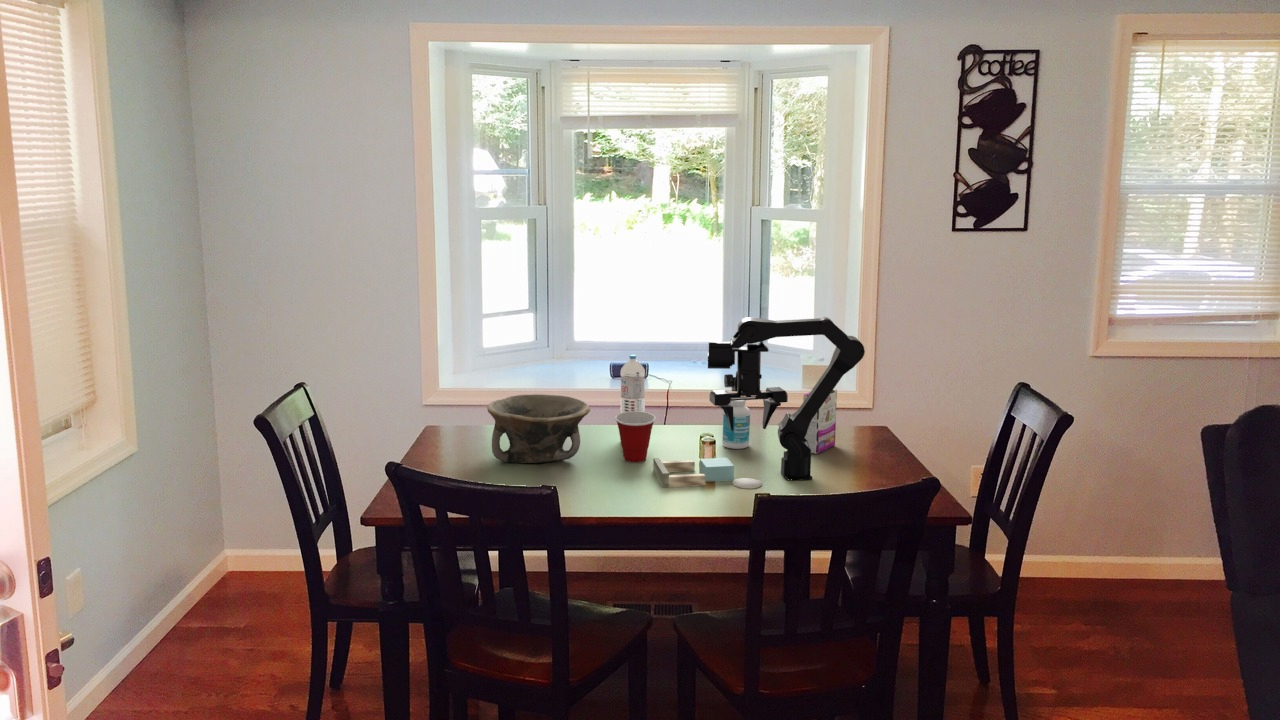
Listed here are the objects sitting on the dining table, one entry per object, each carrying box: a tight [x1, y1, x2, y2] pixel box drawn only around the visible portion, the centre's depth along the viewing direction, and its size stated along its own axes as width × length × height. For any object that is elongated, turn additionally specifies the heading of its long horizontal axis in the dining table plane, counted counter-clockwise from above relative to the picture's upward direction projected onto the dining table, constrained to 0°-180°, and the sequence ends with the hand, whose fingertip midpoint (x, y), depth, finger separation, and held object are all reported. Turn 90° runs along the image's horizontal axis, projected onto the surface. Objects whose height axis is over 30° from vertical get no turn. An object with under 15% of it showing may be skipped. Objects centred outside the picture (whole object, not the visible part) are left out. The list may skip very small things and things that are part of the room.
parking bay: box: [652, 457, 706, 488], centre depth 243 cm, size 10×13×4 cm
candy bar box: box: [803, 388, 838, 455], centre depth 269 cm, size 11×5×16 cm, turn 143°
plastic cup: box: [614, 411, 657, 464], centre depth 258 cm, size 11×11×12 cm
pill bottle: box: [722, 400, 751, 450], centre depth 271 cm, size 8×7×14 cm
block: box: [699, 457, 735, 483], centre depth 245 cm, size 7×7×4 cm
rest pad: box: [732, 477, 762, 490], centre depth 240 cm, size 7×7×1 cm
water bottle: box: [619, 354, 646, 413], centre depth 273 cm, size 7×7×25 cm
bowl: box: [486, 393, 591, 464], centre depth 258 cm, size 27×26×15 cm
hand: (747, 429), depth 244 cm, fingers open, 8 cm apart
